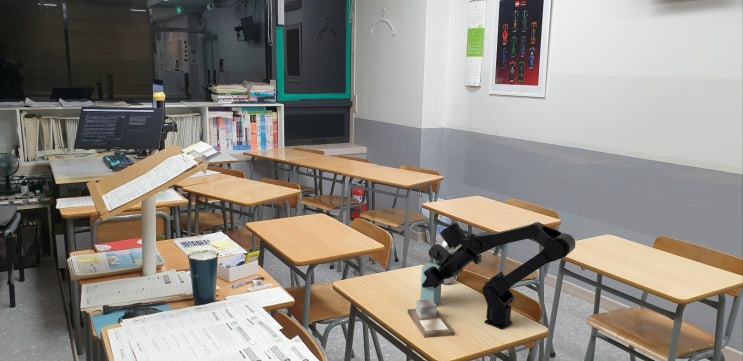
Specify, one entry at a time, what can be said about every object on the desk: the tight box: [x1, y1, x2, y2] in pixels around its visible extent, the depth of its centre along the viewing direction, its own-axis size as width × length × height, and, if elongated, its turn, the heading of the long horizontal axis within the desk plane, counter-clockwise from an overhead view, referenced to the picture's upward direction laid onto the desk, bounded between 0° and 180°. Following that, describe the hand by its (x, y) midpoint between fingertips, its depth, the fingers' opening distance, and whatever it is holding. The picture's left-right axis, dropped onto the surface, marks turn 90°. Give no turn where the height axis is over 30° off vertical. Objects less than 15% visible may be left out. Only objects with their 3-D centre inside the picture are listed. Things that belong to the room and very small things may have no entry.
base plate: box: [407, 299, 454, 338], centre depth 163 cm, size 9×17×5 cm, turn 13°
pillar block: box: [419, 262, 442, 306], centre depth 178 cm, size 5×5×13 cm
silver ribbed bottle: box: [438, 237, 457, 285], centre depth 196 cm, size 6×7×20 cm
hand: (427, 283), depth 179 cm, fingers open, 6 cm apart
